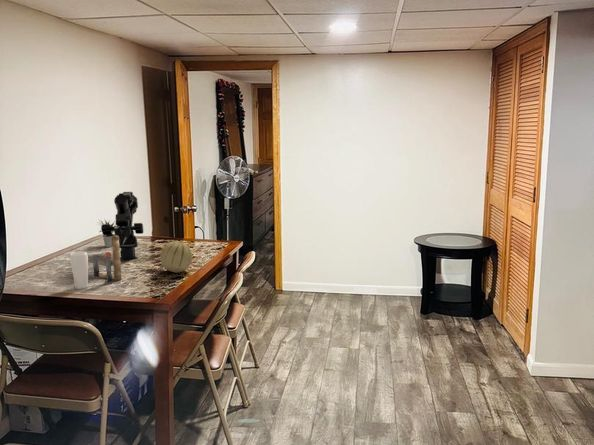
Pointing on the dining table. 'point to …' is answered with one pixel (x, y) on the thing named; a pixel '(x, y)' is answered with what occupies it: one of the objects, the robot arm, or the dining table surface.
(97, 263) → the post
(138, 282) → the dining table surface
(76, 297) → the dining table surface
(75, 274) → the cream white cylinder
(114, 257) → the gate
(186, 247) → the cantaloupe
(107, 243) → the house plant
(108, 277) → the post
